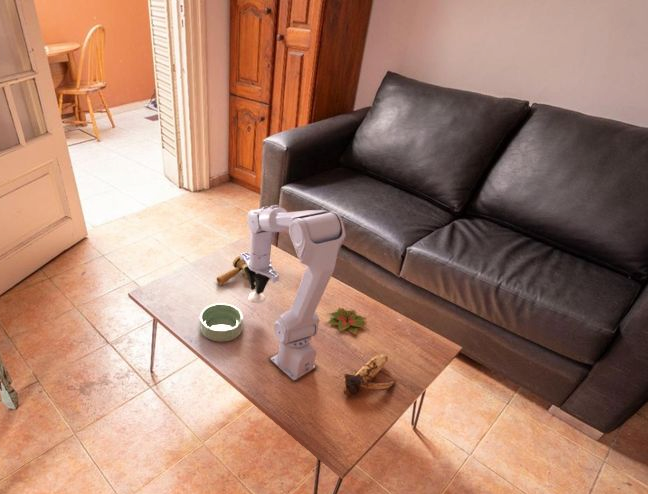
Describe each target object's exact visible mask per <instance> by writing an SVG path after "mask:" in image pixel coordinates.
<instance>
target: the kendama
mask: <svg viewBox="0 0 648 494" xmlns="http://www.w3.org/2000/svg"><path fill="white" fill-rule="evenodd" d="M249 254H250V252H249ZM232 267H233V269H230V270H228V271H227V272H225V273H222V274H221V275H219V276H217V277H216V282H217V283H218V284H219V286H223V285H224V284H225V283H227V282H228V281H230V280H231V279H232V278H234V277H235V276H236V275H238V274H239V273H240V272H241V271H242V276H243V277H244V278H247V279H248V276H247V274H246V272H245V271H244V268H245V267H248V266H247V264H246V262H245V261H242V260H240V255H239V256H237V257H235V258H234V259H233V261H232Z"/></svg>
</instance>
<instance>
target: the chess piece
mask: <svg viewBox="0 0 648 494" xmlns="http://www.w3.org/2000/svg"><path fill="white" fill-rule="evenodd" d="M256 274H258V273H257V272H256ZM254 284H255V285H256V281H255V282H254ZM247 299H248V301H249V302H251V303H253V304H261V303H264V302H265V300H266V296H265V294H264V292H262V293H260V294H257V292H256V287H255V289H254V291H252V292H250V293H249V295H248V298H247Z"/></svg>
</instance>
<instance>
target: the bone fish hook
mask: <svg viewBox="0 0 648 494" xmlns="http://www.w3.org/2000/svg"><path fill="white" fill-rule="evenodd" d="M387 361H388V355H387V354H386V353H379V354H376V355H375V356H374V357H372V358H371V359H370V360H368V361H367V362H366V363H365V364H364V365H363V366H362V367H361V368H360V369H359V370H358V371H357V372H356V373H355V374H349V373H344V375H343V377H344V379H345V380H344V383H345V387H344V388H343V394H344V395H345V396H347V397H348V398H349V397H350V398H351V397H353V396H356V395H357V394H359V393H360V391H361V390H366V391H370V392H371V391H373V392H377V391H384V390H387V389H390V388H391V387H392V386H393V385H394V382H395V381H394V380H392V381H389V382H383V383H382V382H381V383H380V382H379V383H375V382H371V381H372V380H373V379H374V378H376V376H377V375H378V373H379V372H380V371H381V370H382V369H383V367H384V366H385V364H386V363H387Z"/></svg>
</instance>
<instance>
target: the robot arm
mask: <svg viewBox="0 0 648 494" xmlns="http://www.w3.org/2000/svg"><path fill="white" fill-rule="evenodd" d="M246 221H247V227H248V229H249V231H250V239H249V253H250V254H249V253H248V252H247V251H244V252H242V253H240V255H239V256H240V260H242V261H245V262H246V264H247V266H248V267H245V268H244V271H245V272H246V274H247V276H248V278H247V279H248V282H249V287H250V290H252V291H255V287H256V292H257V294H260V293H264V292H265V290H266V286H267V285H268V283H269V281H271V283H272V284H275V283H277V282H279V280H280V274H279V273H278V272H277V271H276V270H275V268H274V267H273V265H272V262H273V260H272V259H271V254H272V252H271V251H272V241H273V236H274V235H275V233H283V232H284V231H285V230H286V229H288V234H289V237H290V241H291V242H292V245H293V247H294V250H295V253H296V255H297V257H298V260H299V262H300V264H303V265H305V266H306V268H305V270H304V273H303V275H302V278H301V281H300V284H299V286H298V289H297V291H296V294H295V297H294V299H293V301H292V305H291V307H290V309H288V310H287V311H285V312H283V313H282V314H280V316H279V318H278V319H276V321H275V323H274V325H273V331H274V335H275V338H276V339H277V341H278V342H279V345H278V352H277V354H275V355H273V356H272V357H270V358H269V359H270V361H271V362H272V363H273V364H274V365H275V366H277V367H278V368H279V369H280V370H281V371H282V372H283V373H284V374H286V375H287V376H288V377H289V378H290V379H291V380H292V381H296V380H298V379H300V378H301V377H303V376H305V375H306V374H308V373H309V372H311V371H313V370H314V369H315V368H316V365H315V361H316V358H317V357H316V356H317V350H316V349H315V348H314V347H313V346H312V345H311V343H310V341H311V340H312V338H313V337H315V336H316V335H317V334H318V331H319V323H320V318H319V315H318V314H317V312H316V311H317V308H318V306H319V304H320V301H321V299H322V297H323V295H324V293H325V291H326V289H327V286H328V284H329V282H330V280H331V277H332V276H333V273H334V271H335V268H336V263H337V258H338V254H339V251H340V249H341V247H342V245H343V242H344V240H345V239H346V236H347V234H346V230H345V225H344V221H343V217H341V215H340V214H339V212H337V211H335V210H331V211H329V212H328V210H326V209H325V210H324V209H310V210H308V209H307V210H297V211H287V209H285V208H283V207H279V205H278V204H274V205H273V204H272V205H270V206H267V205H266V206H262V207H261V208H258V209H250V210H249V211H248V212H247V216H246ZM256 272H257V273H258V274H256ZM255 281H256V285H255V284H254V282H255Z"/></svg>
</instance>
